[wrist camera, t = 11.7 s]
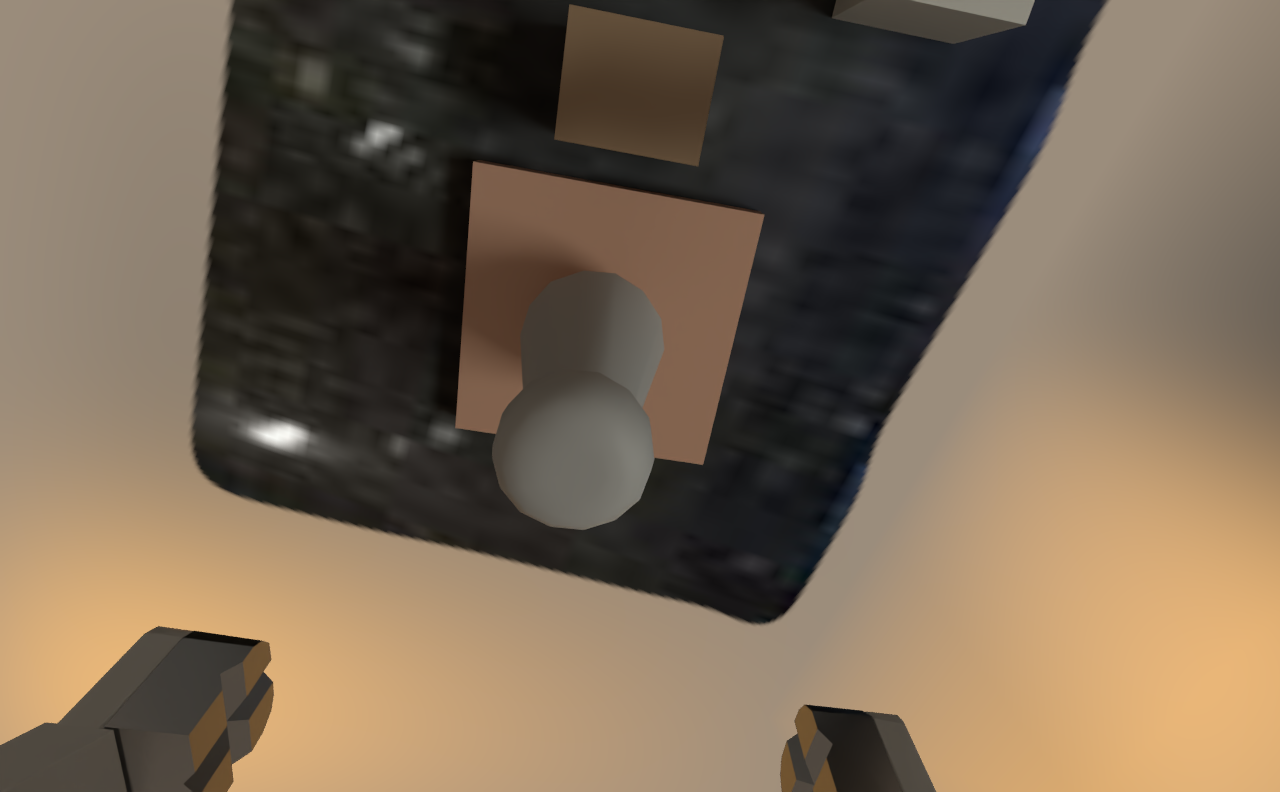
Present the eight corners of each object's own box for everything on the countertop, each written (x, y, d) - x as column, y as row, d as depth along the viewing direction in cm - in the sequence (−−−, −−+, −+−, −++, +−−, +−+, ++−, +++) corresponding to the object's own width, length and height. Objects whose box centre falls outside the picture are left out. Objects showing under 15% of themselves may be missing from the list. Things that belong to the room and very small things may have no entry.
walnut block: (581, 27, 24) (569, 4, 20) (706, 53, 25) (723, 36, 20) (568, 137, 26) (554, 139, 21) (686, 159, 26) (698, 166, 22)
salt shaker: (507, 344, 28) (414, 505, 16) (570, 233, 26) (518, 321, 14) (619, 406, 29) (610, 599, 17) (687, 305, 27) (729, 442, 15)
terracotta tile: (479, 160, 26) (473, 161, 25) (758, 211, 27) (764, 214, 26) (461, 416, 31) (455, 427, 30) (700, 453, 32) (703, 464, 31)
